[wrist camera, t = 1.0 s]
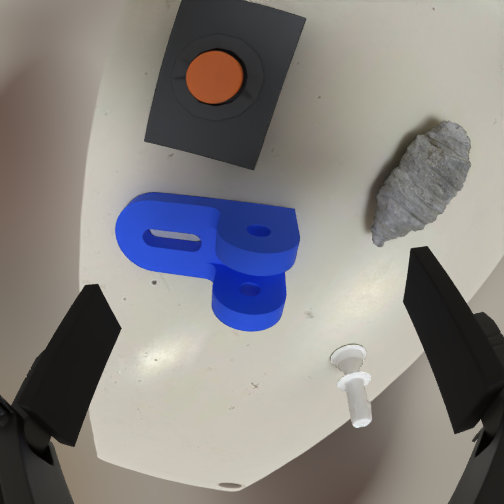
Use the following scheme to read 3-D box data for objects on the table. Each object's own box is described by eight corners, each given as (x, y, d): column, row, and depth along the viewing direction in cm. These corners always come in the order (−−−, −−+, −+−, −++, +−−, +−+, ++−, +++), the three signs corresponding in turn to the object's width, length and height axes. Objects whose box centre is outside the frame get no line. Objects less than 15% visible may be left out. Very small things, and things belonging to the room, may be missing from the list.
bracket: (294, 208, 31) (304, 258, 24) (280, 276, 36) (283, 335, 28) (120, 189, 31) (79, 230, 23) (125, 256, 35) (94, 306, 27)
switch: (199, 47, 20) (194, 45, 18) (250, 59, 20) (249, 58, 19) (185, 95, 22) (179, 96, 20) (234, 107, 22) (232, 109, 21)
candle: (360, 338, 41) (378, 412, 31) (369, 358, 43) (386, 427, 33) (325, 352, 42) (335, 426, 32) (337, 371, 45) (347, 439, 35)
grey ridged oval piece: (344, 227, 29) (404, 253, 22) (399, 110, 27) (461, 109, 20) (384, 252, 32) (439, 279, 24) (431, 145, 30) (489, 152, 23)
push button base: (192, -4, 20) (179, -16, 17) (302, 23, 22) (309, 14, 18) (153, 135, 28) (136, 146, 24) (254, 162, 29) (253, 177, 25)
